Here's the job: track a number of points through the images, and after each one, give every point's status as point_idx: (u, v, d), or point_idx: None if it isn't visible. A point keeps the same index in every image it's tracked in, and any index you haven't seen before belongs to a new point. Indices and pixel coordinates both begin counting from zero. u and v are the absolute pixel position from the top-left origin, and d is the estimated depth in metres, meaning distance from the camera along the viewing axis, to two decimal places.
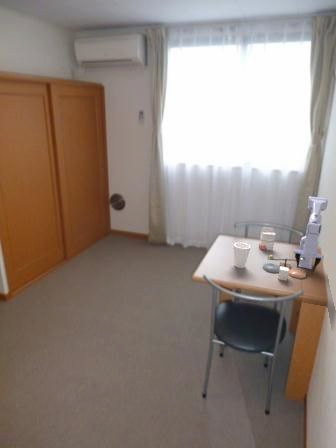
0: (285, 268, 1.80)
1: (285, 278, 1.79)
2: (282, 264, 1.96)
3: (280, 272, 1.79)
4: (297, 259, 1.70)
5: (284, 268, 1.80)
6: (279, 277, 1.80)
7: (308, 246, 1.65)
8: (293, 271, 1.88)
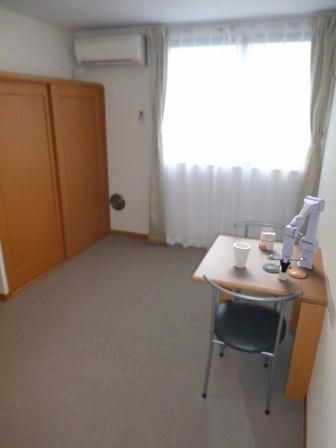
0: None
1: (285, 278, 1.79)
2: None
3: (280, 272, 1.79)
4: (282, 257, 1.83)
5: None
6: (279, 277, 1.80)
7: None
8: (293, 271, 1.88)
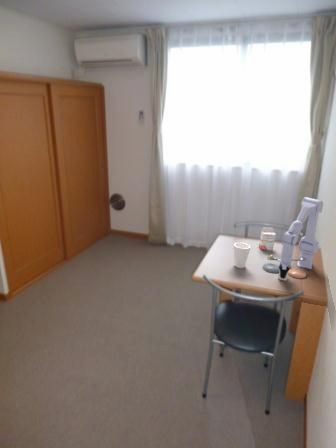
0: None
1: (285, 278, 1.79)
2: None
3: None
4: (281, 264, 1.83)
5: None
6: (279, 277, 1.80)
7: None
8: (293, 271, 1.88)
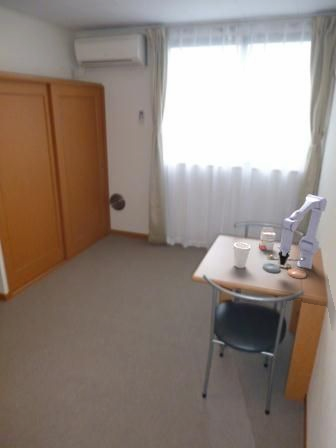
0: None
1: (285, 265, 1.79)
2: None
3: None
4: (280, 251, 1.83)
5: None
6: (279, 264, 1.80)
7: None
8: (293, 271, 1.88)
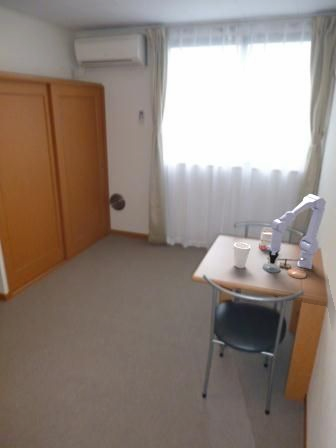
0: None
1: (274, 264, 1.88)
2: (282, 264, 1.96)
3: None
4: None
5: None
6: (269, 263, 1.89)
7: None
8: (293, 271, 1.88)
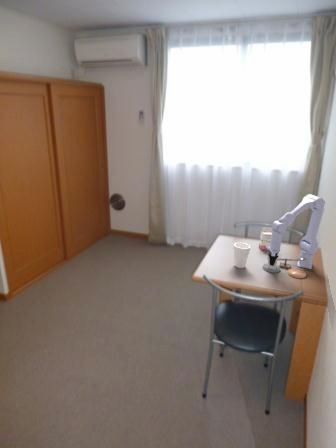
0: None
1: (274, 267, 1.89)
2: (282, 264, 1.96)
3: (269, 261, 1.89)
4: None
5: None
6: (268, 266, 1.90)
7: None
8: (293, 271, 1.88)
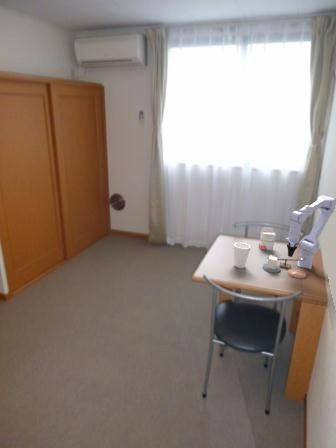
0: (274, 257, 1.90)
1: (274, 267, 1.89)
2: (282, 264, 1.96)
3: (269, 261, 1.89)
4: None
5: (273, 258, 1.90)
6: (268, 266, 1.90)
7: None
8: (293, 271, 1.88)
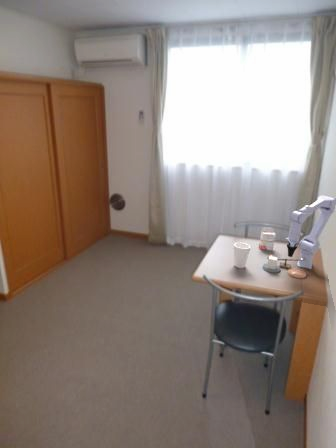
0: (274, 257, 1.90)
1: (274, 267, 1.89)
2: (282, 264, 1.96)
3: (269, 261, 1.89)
4: None
5: (273, 258, 1.90)
6: (268, 266, 1.90)
7: None
8: (293, 271, 1.88)
